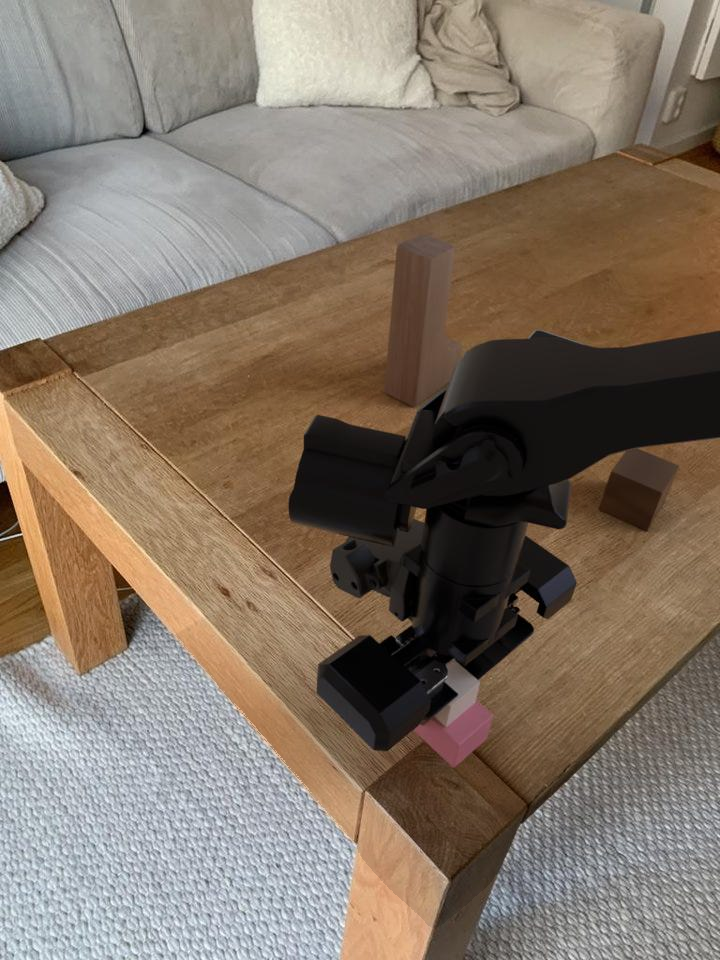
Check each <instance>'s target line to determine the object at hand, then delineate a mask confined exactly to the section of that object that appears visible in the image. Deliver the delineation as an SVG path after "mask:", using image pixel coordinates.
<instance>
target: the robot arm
mask: <svg viewBox="0 0 720 960" xmlns="http://www.w3.org/2000/svg"><path fill="white" fill-rule="evenodd" d="M576 342H577V341H576ZM576 342H572V341H568V340H564V339H560V338H531V339H528V338H504V339H503V338H502V339H492V340H488V341H485V342H482V343H480V344H479V343H478V344H476V345H474V346H473V347H471V348H470V349H468V350H466V351H465V353H464V354H463V356H461V360H460V361H459V363H458V364H457V366H456V367H455V369H454V370H453V373H452V376H451V379H450V382H449V383H448V384H446V385H445V386H444V387H443V388H441V389H440V391H438V392H437V393H436V394H434V396H432V397H431V398H430V399H428V400H427V401H426V402H425V403H423V404H422V405H421V406H420V407H418V408H417V409H416V412H415V415H414V417H413V420H412V423H411V424H410V427H409V431H408V433H407V435H403V434H398V433H393V432H388V431H383V430H378V429H374V428H369V427H365V426H361V425H360V426H359V425H356V424H352V423H348V422H345V421H343V420H341V419H339V418H335V417H330V416H326V415H321V414H316V415H314V416H313V418H312V420H311V421H310V423H309V425H308V427H307V429H306V431H304V434H303V450H302V453H301V455H300V459H299V463H298V466H297V470H296V474H295V477H294V478H295V479H294V484H293V488H292V491H291V492H290V495H289V497H288V517H289V520H290V522H291V524H293V525H297V526H301V527H305V528H310V529H315V530H319V531H322V532H327V533H331V534H336V535H340V536H344V537H347V538H346V540H345V541H344V542H343V543H341V544H340V545H337V546H336V547H334V548H333V549H332V552H331V557H330V564H329V569H330V574H331V578H332V582H333V584H334V585H335V587H336V588H337V589H338V590H341V591H342V592H344V593H347V594H348V595H351V597H354V598H356V599H362V598H363V597H365V595H368V594H369V593H370V592H372V591H373V592H376V593H378V594H380V595H382V596H384V597H387V598H389V604H388V612H389V613H390V614H392V615H393V616H394V617H395V618H396V619H398V620H399V621H400V622H402V623H403V622H405V621H407V620H409V622H411V625H409V626H408V627H407V628H405V629H404V630H403V631H402V632H400V633H399V634H397V635H396V636H394V635H392V634H390V635H389V636H387V637H386V638H385V639H383V640H382V641H381V642H380V643H379V641H378V640H376V639H375V638H374V637H373V636H372V635H370V634H368V635H367V634H365V635H364V634H362V635H358V636H356V637H355V638H353V639H352V640H351V641H349V642H348V643H346V644H344V645H343V646H342V647H341V648H339V649H338V650H336V651H334V653H332V654H330V655H329V656H328V657H326V658H325V659H323V660H321V661H320V662H319V663H318V665H317V674H316V694H317V695H318V697H320V698H321V699H322V700H323V701H324V702H325V703H326V704H327V705H328V706H329V707H330V709H332V710H333V712H335V713H336V714H337V715H338V716H339V717H340V718H341V719H342V720H343V721H344V723H346V724H347V726H349V727H350V729H351V730H353V731H354V733H355V734H356V735H358V736H359V737H360V739H362V741H364V743H365V744H366V745H367V746H368V747H370V749H371V750H373V751H375V752H388V751H389V750H391V749H392V748H393V747H395V746H396V745H397V744H398V743H399V742H400V741H402V740H403V739H404V738H405V737H407V736H409V734H411V733H412V732H414V729H415V728H416V727H418V726H419V724H421V725H422V726H423V725H425V724H426V723H427V722H428V721H429V720H431V719H432V718H433V717H434V716H435V715H436V714H438V713H439V712H440V711H441V710H442V709H443V708H444V707H446V706H447V705H448V704H449V703H450V702H452V701H453V700H454V699H455V698H456V697H457V696H458V693H457V692H456V691H455V690H453V689H452V688H451V687H450V686H449V685H448V684H447V683H445V681H446V679H447V677H448V669H447V666H448V665H449V664H450V663H452V662H453V661H454V660H455V661H456V662H457V663H459V664H460V665H461V666H462V667H463V668H464V669H466V670H467V671H468V672H469V673H470V674H471V675H473V676H474V677H475V678H476V679H477V680H478V681H480V680H481V678H483V677H484V676H485V675H486V674H487V673H489V672H490V671H491V670H492V669H493V668H494V667H496V666H497V665H498V664H500V663H501V662H502V661H503V660H504V659H505V658H506V657H508V656H509V655H510V654H511V653H512V652H514V651H515V650H516V649H517V648H519V647H520V646H521V645H522V644H524V643H525V642H526V641H527V640H528V639H529V638H530V637H532V636H533V634H534V632H535V628H534V625H533V624H532V623H531V622H530V621H529V620H527V619H526V618H524V617H523V616H522V615H520V612H521V609H520V607H519V606H516V605H518V602H519V598H520V597H519V596H518V595H517V594H519V592H521V591H522V592H523V593H525V594H526V595H527V596H529V597H530V598H531V599H533V600H534V601H535V602H536V603H538V605H537V609H536V614H538V615H539V616H540V617H541V618H543V619H545V620H549V619H550V618H552V617H553V616H554V615H555V614H557V613H558V612H559V611H560V610H561V609H563V608H565V606H567V605H568V604H569V603H570V602H572V600H573V596H574V592H575V590H576V587H577V584H578V582H577V579H576V577H575V575H574V572H573V571H572V568H571V567H570V565H569V564H567V563H566V562H565V561H563V560H562V559H561V558H559V557H557V556H556V555H555V554H553V553H552V552H551V551H549V550H547V549H546V548H545V547H543V546H542V545H540V544H539V543H537V541H535V540H534V539H532V538H530V537H529V536H527V535H526V533H527V531H528V530H527V529H528V526H529V524H531V525H537V526H541V527H546V528H550V529H555V530H563V529H565V528H566V527H567V524H568V516H569V508H570V507H569V506H570V500H571V491H572V483H571V481H570V480H571V479H573V478H574V477H575V476H577V475H580V474H581V473H583V472H585V471H586V470H588V469H589V468H591V467H593V466H594V465H596V464H598V463H600V462H601V461H602V460H605V459H606V458H608V457H610V456H613V455H617V454H620V453H625V451H628V450H632V449H636V448H638V449H643V448H651V447H659V446H667V445H674V444H675V445H676V444H684V443H691V442H700V441H708V440H714V439H715V440H716V439H720V330H715V331H709V332H703V333H698V334H691V335H686V336H680V337H675V338H668V339H663V340H657V341H652V342H646V343H641V344H640V343H639V344H634V345H629V346H620V347H618V346H617V347H596V346H591V345H587V344H585V345H584V343H582V344H580V343H581V342H579V343H576ZM417 509H420V510H425V516H424V522H423V521H421V520H419V519H415V516H416V511H417Z"/></svg>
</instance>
